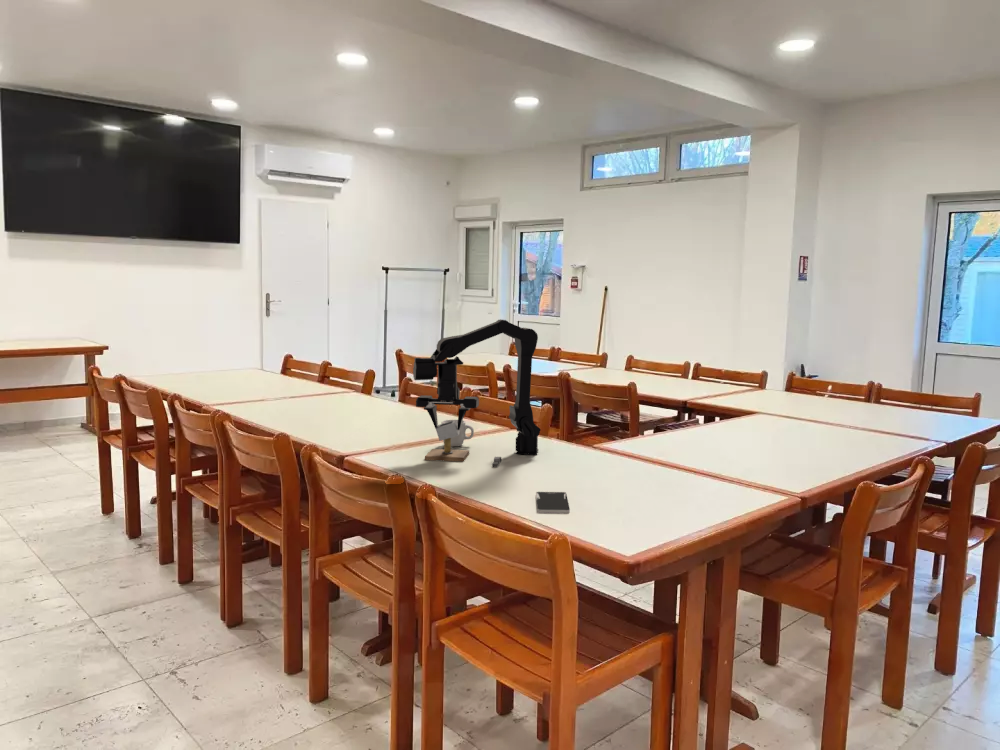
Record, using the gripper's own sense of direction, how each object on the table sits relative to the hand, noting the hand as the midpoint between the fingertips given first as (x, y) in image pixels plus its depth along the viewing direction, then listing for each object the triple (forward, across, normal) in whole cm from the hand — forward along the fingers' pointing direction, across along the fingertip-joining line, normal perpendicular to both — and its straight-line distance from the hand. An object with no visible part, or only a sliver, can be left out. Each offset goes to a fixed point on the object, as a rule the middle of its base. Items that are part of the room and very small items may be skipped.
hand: (447, 429), depth 226 cm
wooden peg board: (+9, 0, 0) cm, 9 cm away
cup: (+9, 0, -17) cm, 19 cm away
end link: (+2, -1, +1) cm, 2 cm away
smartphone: (+10, -35, +44) cm, 57 cm away
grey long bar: (+9, -16, +6) cm, 19 cm away
